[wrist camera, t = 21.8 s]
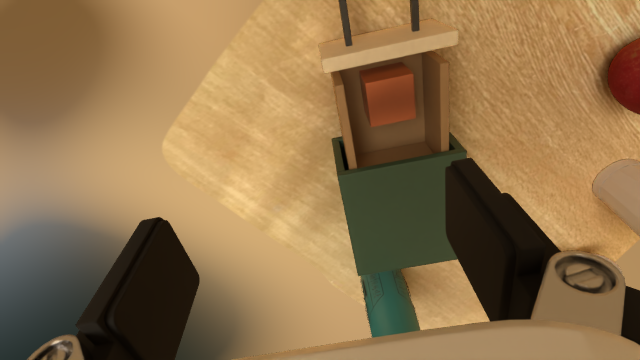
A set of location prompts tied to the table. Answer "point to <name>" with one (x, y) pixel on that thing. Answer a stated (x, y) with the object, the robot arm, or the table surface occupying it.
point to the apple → (626, 76)
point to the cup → (621, 190)
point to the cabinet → (397, 209)
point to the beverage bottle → (388, 304)
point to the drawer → (429, 88)
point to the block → (388, 94)
